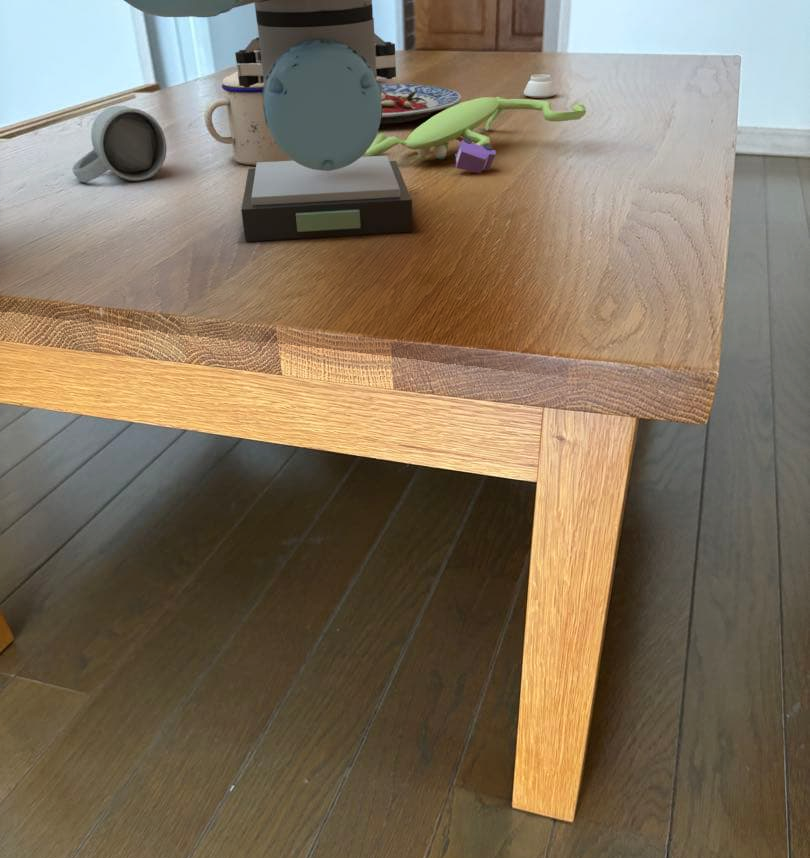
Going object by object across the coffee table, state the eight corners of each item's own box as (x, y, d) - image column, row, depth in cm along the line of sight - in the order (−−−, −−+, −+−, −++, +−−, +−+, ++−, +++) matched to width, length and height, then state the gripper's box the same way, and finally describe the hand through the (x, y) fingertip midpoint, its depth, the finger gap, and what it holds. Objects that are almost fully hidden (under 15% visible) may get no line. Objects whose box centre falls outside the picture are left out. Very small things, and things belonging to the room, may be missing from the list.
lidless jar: (554, 99, 139) (555, 93, 143) (555, 78, 138) (557, 73, 142) (522, 99, 140) (524, 93, 144) (523, 78, 138) (525, 73, 142)
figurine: (604, 146, 112) (609, 97, 109) (449, 185, 98) (449, 131, 95) (501, 126, 124) (502, 81, 120) (349, 158, 110) (346, 109, 107)
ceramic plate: (324, 139, 120) (323, 115, 118) (269, 109, 139) (267, 88, 137) (491, 119, 128) (492, 96, 126) (417, 93, 147) (417, 73, 145)
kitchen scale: (245, 243, 83) (239, 202, 81) (251, 197, 97) (247, 160, 95) (413, 233, 84) (412, 192, 82) (396, 189, 98) (395, 152, 96)
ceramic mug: (153, 162, 111) (140, 95, 107) (173, 175, 105) (159, 105, 101) (68, 176, 107) (51, 107, 103) (84, 191, 101) (65, 118, 97)
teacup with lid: (286, 146, 117) (276, 46, 110) (315, 159, 110) (307, 54, 104) (199, 159, 112) (183, 56, 105) (225, 174, 106) (209, 64, 99)
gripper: (216, 136, 69) (233, 88, 88) (427, 124, 70) (399, 79, 89) (200, 26, 65) (221, 0, 84) (425, 15, 66) (396, -8, 85)
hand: (313, 41), depth 86 cm, fingers closed on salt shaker, 4 cm apart
